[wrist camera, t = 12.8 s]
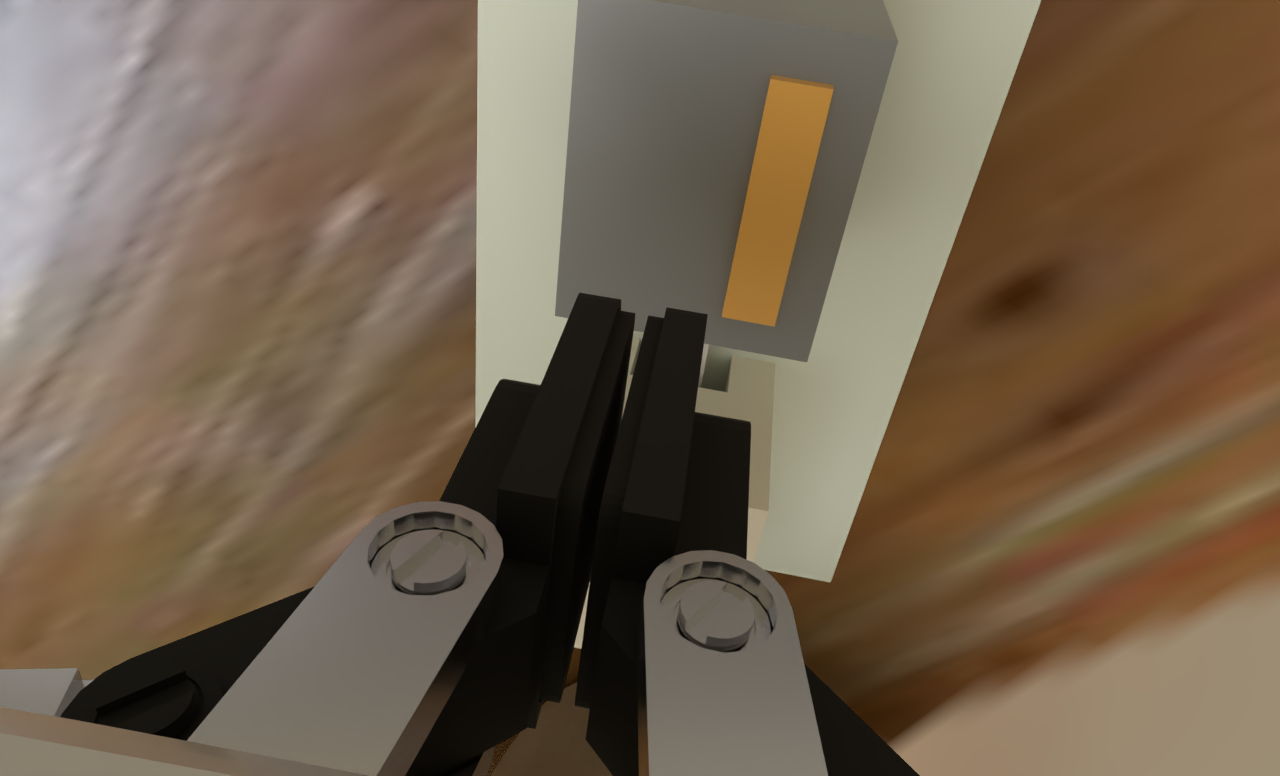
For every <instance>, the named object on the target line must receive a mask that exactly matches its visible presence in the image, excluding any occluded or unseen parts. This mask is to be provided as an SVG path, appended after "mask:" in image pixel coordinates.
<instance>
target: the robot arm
mask: <svg viewBox="0 0 1280 776" xmlns="http://www.w3.org/2000/svg"><path fill="white" fill-rule="evenodd" d="M707 316H708V314H704V313H698V312H692V311H686V310H680V309H674V308H668V307H667V308H666V312H665V316H664V318H661V317H655V316H649V315H648V318H647V322H646V326H645V330H644V334H643V338H642V342H641V346H640V350H639V354H638V358H637V361H636V365H635V369H634V373H633V377H632V381H631V385H630V389H629V393H628V397H627V401H626V405H625V409H624V413H623V406H624V398H625V391H626V384H627V376H628V369H629V361H630V354H631V347H632V339H633V332H634V324H635V313H632V312H626V311H621V299H615V298H609V297H603V296H597V295H591V294H585V293H579V294H578V296H577V298H576V301H575V303H574V306H573V308H572V311H571V313H570V315H569V318H568V320H567V323H566V325H565V327H564V330H563V332H562V335H561V337H560V340H559V342H558V344H557V347H556V349H555V352H554V354H553V356H552V359H551V361H550V364H549V366H548V368H547V371H546V373H545V376H544V378H543V381H542V383H541V385H538V384H532V383H526V382H520V381H515V380H509V379H501V380H500V381H499V382H498V384H497V386H496V387H495V389H494V391H493V393H492V395H491V397H490V399H489V401H488V404H487V406H486V408H485V410H484V412H483V414H482V416H481V418H480V420H479V422H478V424H477V426H476V428H475V430H474V432H473V434H472V436H471V438H470V440H469V442H468V444H467V446H466V448H465V450H464V452H463V454H462V456H461V458H460V460H459V462H458V464H457V466H456V468H455V471H454V473H453V475H452V477H451V479H450V481H449V483H448V485H447V487H446V489H445V491H444V493H443V495H442V497H441V499H440V501H433V502H416V503H412V504H408V505H404V506H400V507H396V508H394V509H392V510H390V511H388V512H386V513H384V514H382V515H380V516H378V517H376V518H375V519H374V520H373V521H372V522H370V523H369V524H368V525H367V526H366V527H365V528H364V529H362V530H361V532H360V533H359V534H358V535H357V536H356V538H355V539H354V540H353V541H352V542H351V544H350V545H349V546H348V547H347V548H346V550H345V551H344V552H343V553H342V554H341V556H340V557H339V558H338V559H337V560H336V562H335V563H334V564H333V565H332V566H331V568H330V569H329V570H328V571H327V572H326V574H325V575H324V576H323V577H322V578H321V580H320V581H319V582H318V583H317V584H316V586H315V587H312V588H310V589H307V590H305V591H302V592H300V593H297V594H295V595H292V596H289V597H287V598H284V599H282V600H279V601H277V602H274V603H272V604H269V605H266V606H264V607H261V608H259V609H256V610H254V611H251V612H249V613H246V614H243V615H241V616H238V617H236V618H233V619H231V620H228V621H226V622H223V623H220V624H218V625H215V626H213V627H210V628H208V629H205V630H203V631H200V632H197V633H195V634H192V635H190V636H187V637H185V638H182V639H180V640H177V641H175V642H172V643H169V644H167V645H164V646H162V647H159V648H157V649H154V650H152V651H149V652H146V653H144V654H141V655H139V656H136V657H134V658H131V659H129V660H127V661H125V662H123V663H121V664H119V665H117V666H115V667H113V668H111V669H109V670H107V671H105V672H103V673H102V674H101V675H100V676H98V677H97V678H96V679H95V680H82V678H81V675H80V673H79V670H78V668H59V669H0V776H487V773H488V771H489V769H490V766H491V762H492V759H493V755H494V752H495V746H496V745H497V744H499V743H501V742H503V741H505V740H506V739H508V738H510V737H512V736H514V735H515V734H517V733H519V732H521V731H522V730H524V729H526V728H533V729H536V725H537V721H538V717H539V714H540V710H541V706H542V702H543V700H546V701H551V702H556V703H560V701H561V698H562V694H563V690H564V686H565V682H566V678H567V673H568V669H569V665H570V661H571V657H572V653H573V649H574V644H575V640H576V636H577V632H578V628H579V624H580V620H581V616H582V611H583V607H584V603H585V599H586V595H587V591H588V587H589V593H588V601H587V609H586V617H585V625H584V633H583V641H582V649H581V657H580V665H579V672H578V680H577V688H576V696H575V706H577V707H583V708H588V709H590V711H589V718H588V725H587V732H586V741H587V742H588V743H589V745H590V746H591V747H592V749H593V750H594V751H595V753H596V754H597V755H598V757H599V758H600V759H601V761H602V762H603V763H604V765H605V766H606V767H607V769H608V770H609V771H610V773H611V774H612V776H919V775H918V774H917V773H916V772H915V771H914V770H913V769H912V768H911V767H910V766H909V765H908V764H907V763H906V762H905V761H904V760H903V759H902V758H901V757H900V756H899V755H898V754H897V753H896V752H895V751H894V750H893V749H892V748H891V747H890V746H888V745H887V744H886V743H885V742H884V741H883V740H882V739H881V738H880V737H879V736H878V735H877V734H876V733H875V732H874V731H873V730H872V729H871V728H870V727H869V726H868V725H867V724H866V723H865V722H864V721H863V720H862V719H861V718H860V717H859V716H857V715H856V714H855V713H854V712H853V711H852V710H851V709H850V708H849V707H848V706H847V705H846V704H845V703H844V702H843V701H842V700H841V699H840V698H839V697H838V696H837V695H836V694H835V693H834V692H833V691H832V690H831V689H830V688H829V687H828V686H826V685H825V684H824V683H823V682H822V681H821V680H820V679H819V678H818V677H817V676H816V675H815V674H814V673H813V672H812V671H811V670H810V669H809V668H808V667H807V666H806V665H805V664H804V661H803V656H802V651H801V647H800V642H799V637H798V633H797V628H796V623H795V619H794V614H793V609H792V607H791V604H790V602H789V600H788V597H787V595H786V592H785V591H784V589H783V588H782V587H781V586H780V585H779V583H778V582H777V581H776V580H775V579H774V577H773V576H772V575H770V574H769V573H768V572H766V571H765V570H763V569H762V568H761V567H759V566H758V565H757V564H755V563H753V562H751V561H749V560H747V533H748V505H749V478H750V450H751V423H750V421H744V420H739V419H733V418H727V417H721V416H716V415H710V414H704V413H698V412H695V407H696V399H697V392H698V384H699V377H700V369H701V362H702V354H703V347H704V339H705V332H706V324H707ZM622 413H623V417H622ZM589 582H590V585H589Z"/></svg>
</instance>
